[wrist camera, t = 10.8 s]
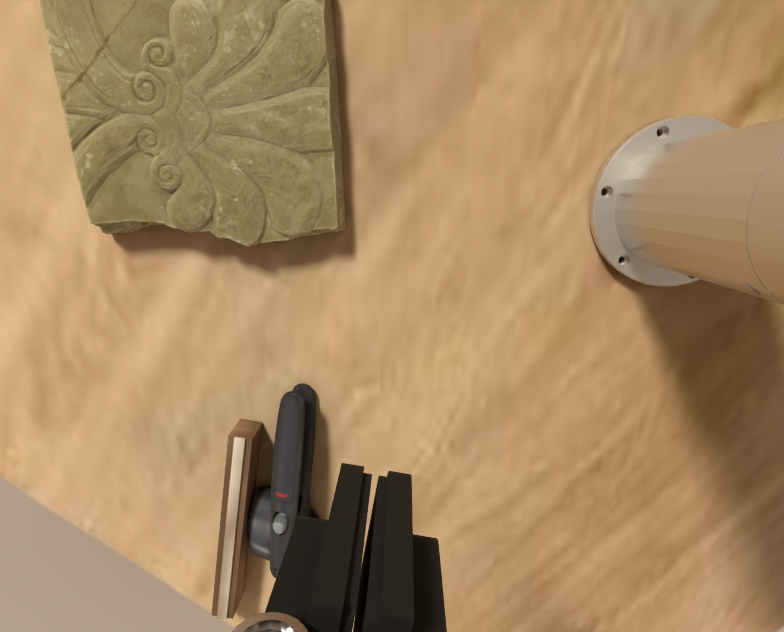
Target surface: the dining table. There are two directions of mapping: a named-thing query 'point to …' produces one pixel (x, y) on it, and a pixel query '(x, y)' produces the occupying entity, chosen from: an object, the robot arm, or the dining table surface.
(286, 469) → the can opener
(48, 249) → the dining table surface
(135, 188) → the decorative tile
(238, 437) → the walnut rail
